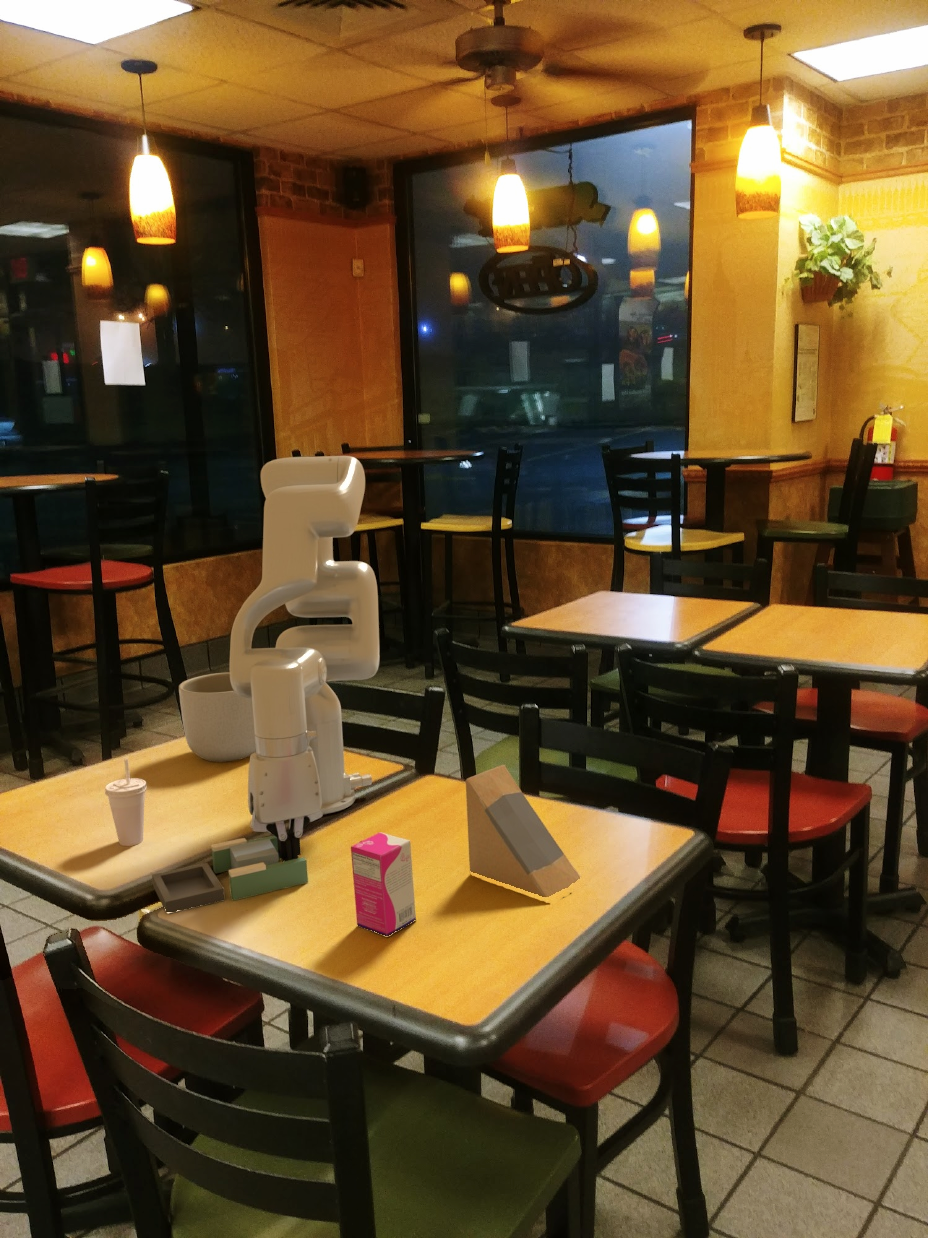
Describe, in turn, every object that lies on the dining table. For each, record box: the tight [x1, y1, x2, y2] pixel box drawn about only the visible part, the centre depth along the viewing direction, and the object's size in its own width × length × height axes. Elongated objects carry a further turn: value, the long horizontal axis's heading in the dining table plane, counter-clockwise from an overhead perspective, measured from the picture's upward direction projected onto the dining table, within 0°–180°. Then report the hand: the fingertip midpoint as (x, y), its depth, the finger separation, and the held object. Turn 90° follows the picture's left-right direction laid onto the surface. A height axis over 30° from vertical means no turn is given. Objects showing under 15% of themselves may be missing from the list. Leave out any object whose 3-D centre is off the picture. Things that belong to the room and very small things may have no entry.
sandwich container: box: [465, 764, 581, 897], centre depth 146 cm, size 9×15×15 cm, turn 47°
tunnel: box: [210, 834, 309, 901], centre depth 151 cm, size 11×12×4 cm
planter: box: [178, 671, 256, 763], centre depth 207 cm, size 17×17×15 cm
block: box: [229, 839, 280, 869], centre depth 152 cm, size 6×6×4 cm
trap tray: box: [151, 862, 226, 913], centre depth 146 cm, size 8×10×2 cm
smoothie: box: [104, 758, 147, 847], centre depth 164 cm, size 6×6×14 cm
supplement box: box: [350, 832, 417, 936], centre depth 134 cm, size 6×6×12 cm
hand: (290, 861), depth 153 cm, fingers closed
